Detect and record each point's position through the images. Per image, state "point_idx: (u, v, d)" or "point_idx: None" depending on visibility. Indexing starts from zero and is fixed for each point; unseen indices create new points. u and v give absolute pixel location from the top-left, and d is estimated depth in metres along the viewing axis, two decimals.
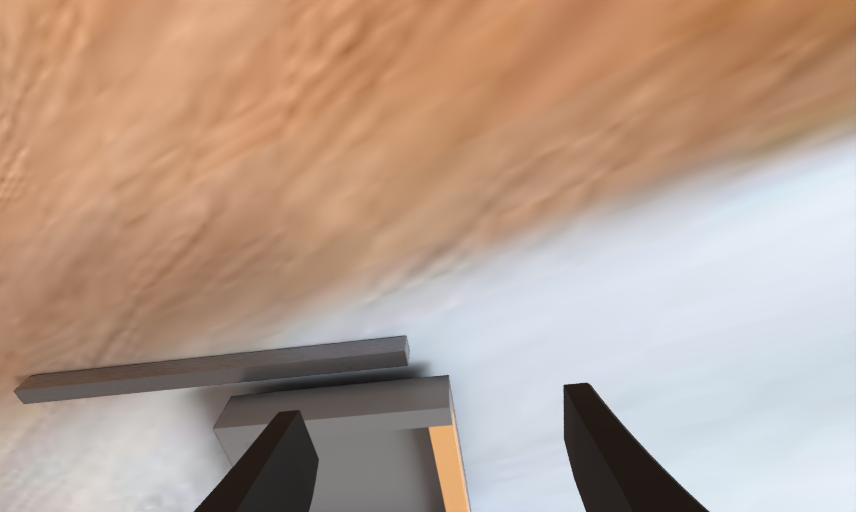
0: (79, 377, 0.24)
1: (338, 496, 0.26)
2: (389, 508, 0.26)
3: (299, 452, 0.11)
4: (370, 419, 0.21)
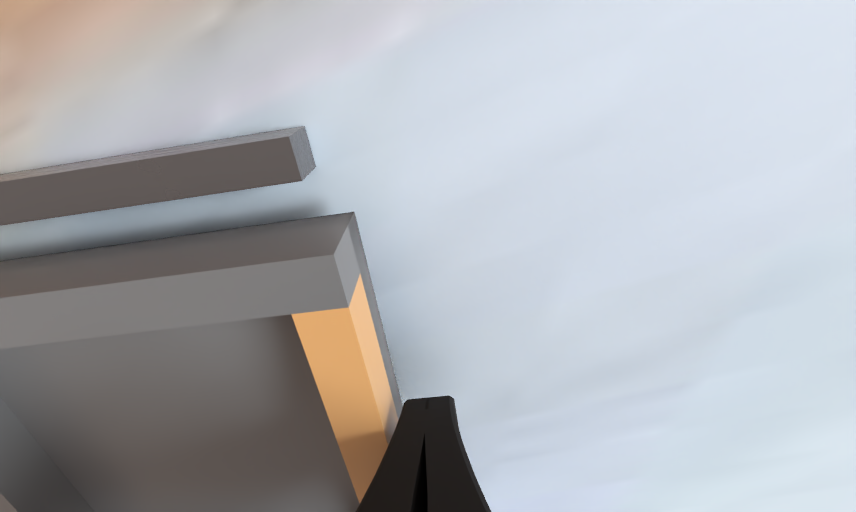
0: None
1: (169, 489, 0.14)
2: None
3: None
4: (145, 293, 0.08)
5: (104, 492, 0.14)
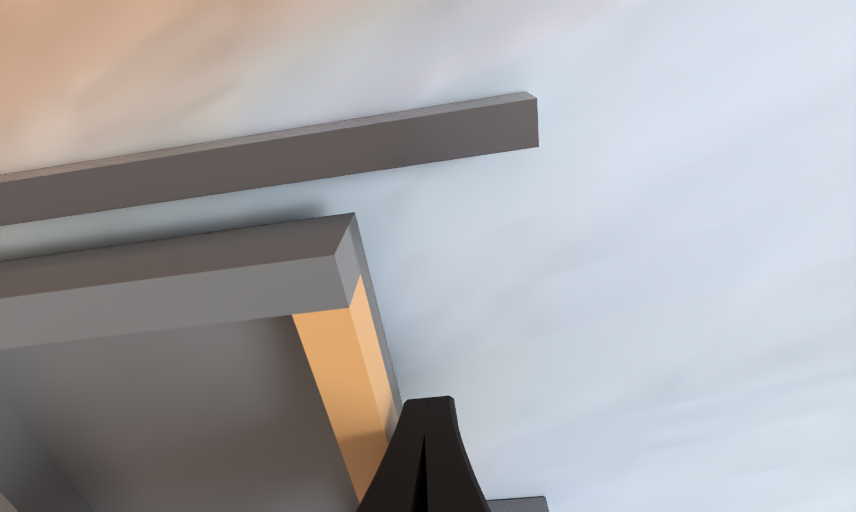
0: None
1: (170, 489, 0.14)
2: None
3: None
4: (146, 294, 0.09)
5: (104, 491, 0.14)
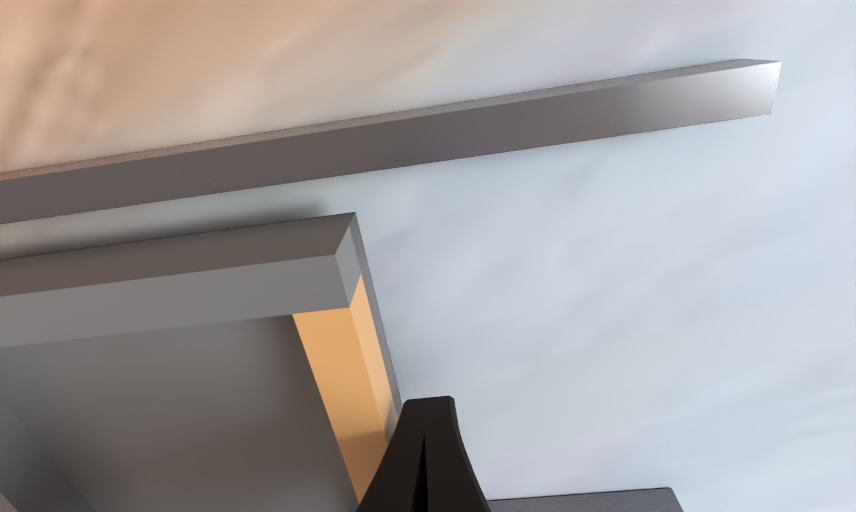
0: None
1: (169, 488, 0.14)
2: (271, 511, 0.14)
3: None
4: (146, 293, 0.08)
5: (103, 491, 0.14)
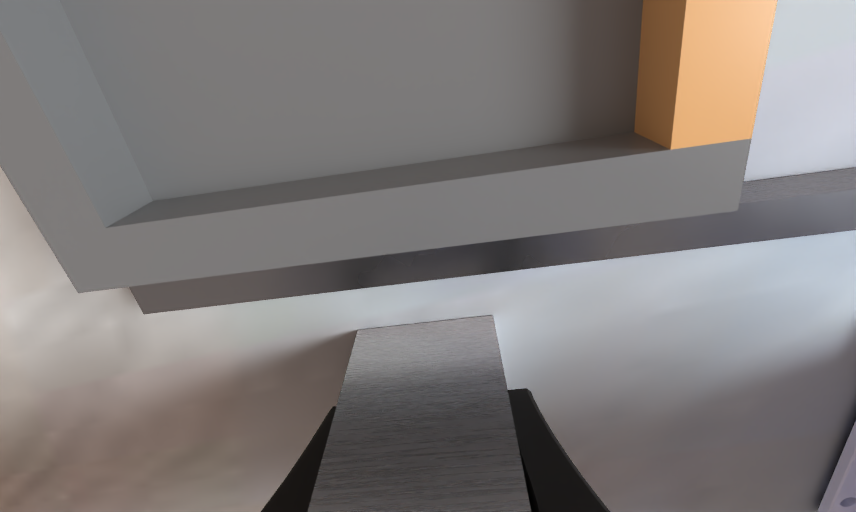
0: None
1: (247, 24, 0.07)
2: (428, 93, 0.08)
3: None
4: None
5: (125, 37, 0.07)
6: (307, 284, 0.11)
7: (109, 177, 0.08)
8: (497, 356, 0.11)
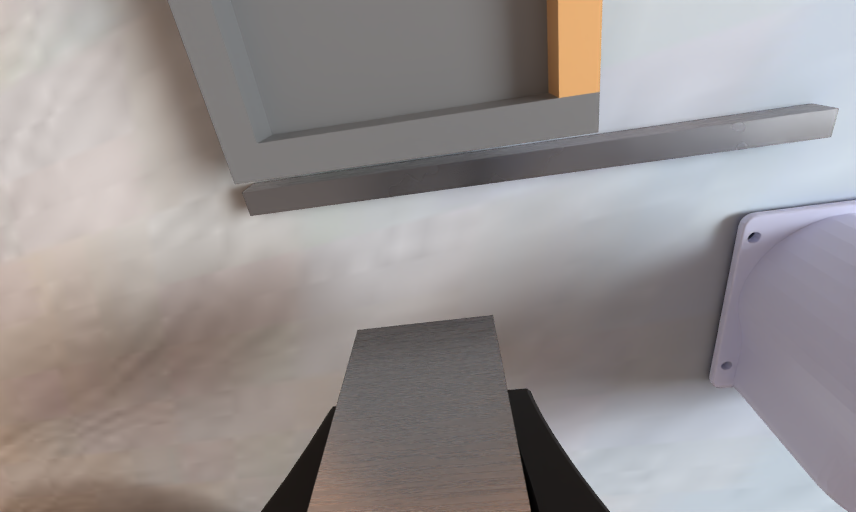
0: None
1: (336, 32, 0.14)
2: (433, 70, 0.14)
3: None
4: None
5: (269, 39, 0.14)
6: (356, 194, 0.17)
7: (256, 116, 0.14)
8: (497, 356, 0.11)
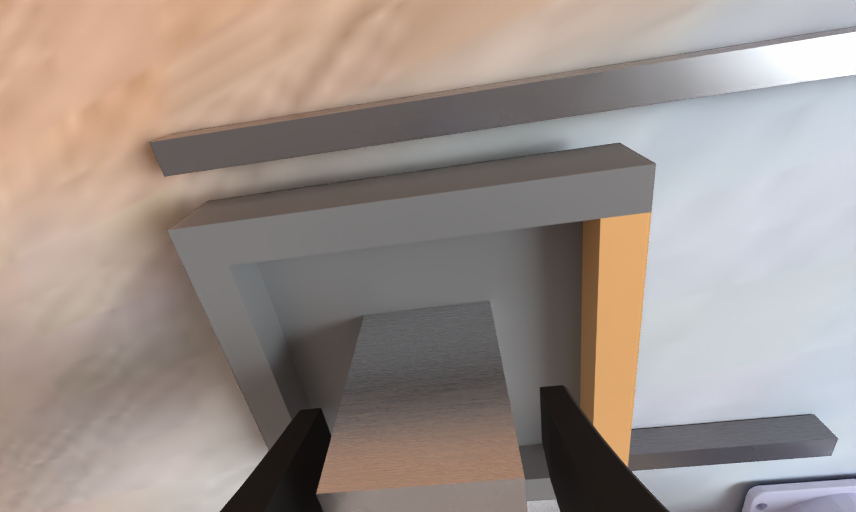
0: (275, 120, 0.12)
1: None
2: None
3: (321, 450, 0.11)
4: (485, 199, 0.10)
5: (333, 405, 0.15)
6: None
7: None
8: (493, 336, 0.12)
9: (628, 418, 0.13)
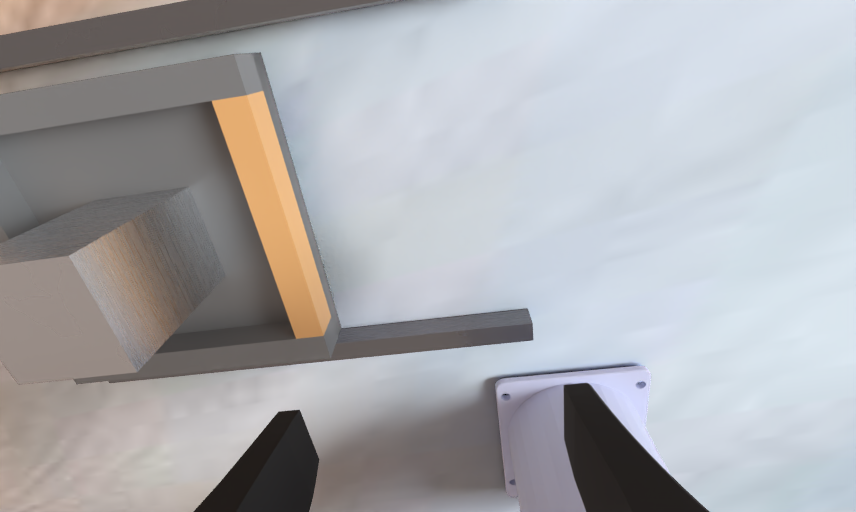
0: None
1: None
2: (218, 305, 0.19)
3: (299, 452, 0.11)
4: (120, 85, 0.14)
5: None
6: None
7: None
8: (160, 202, 0.15)
9: (304, 283, 0.17)
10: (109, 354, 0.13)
